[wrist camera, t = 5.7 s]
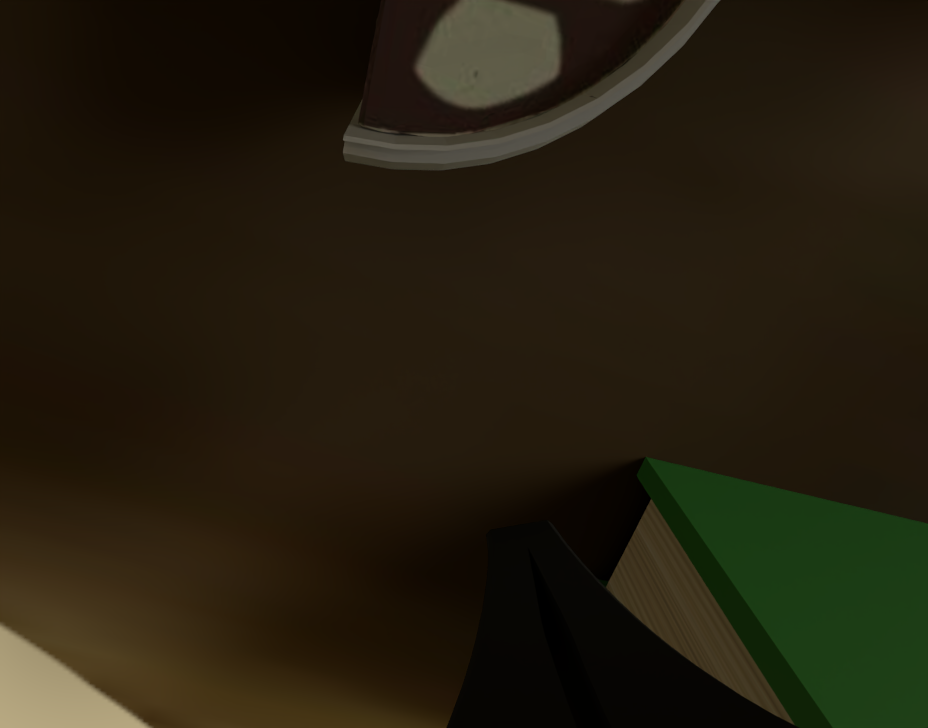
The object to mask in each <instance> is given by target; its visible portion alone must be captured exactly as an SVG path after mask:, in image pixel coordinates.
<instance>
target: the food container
mask: <svg viewBox="0 0 928 728" xmlns="http://www.w3.org/2000/svg"><path fill="white" fill-rule="evenodd" d="M719 1H720V0H381V3H380V8H379V13H378V17H377V19H376V28H375V33H374V38H373V43H372V48H371V54H370V59H369V65H368V70H367V76H366V81H365V87H364V92H363V98H362V101H361V103H360V105H359V107H358V108H357V110H356V112H355V114H354V116H353V118H352V120H351V122H350V124H349V126H348V128H347V130H346V132H345V134H344V138H343V141H345V144H344V149H343V155H344V159H345V161H349V162H354V163H360V164H366V165H371V166H377V167H383V168H388V169H405V170H448V169H455V168H462V167H470V166H477V165H484V164H491V163H494V162H497V161H500V160H503V159H507V158H510V157H513V156H516V155H520V154H523V153H526V152H529V151H532V150H536V149H538V148H540V147H542V146H544V145H546V144H548V143H550V142H552V141H554V140H556V139H558V138H560V137H562V136H564V135H566V134H568V133H570V132H572V131H574V130H576V129H578V128H580V127H582V126H584V125H585V124H587V123H588V122H589V121H591V120H592V119H594V118H595V117H597V116H598V115H599V114H601V113H602V112H604V111H605V110H607V109H608V108H609V107H611V106H612V105H614V104H615V103H617V102H618V101H619V100H621V99H622V98H624V97H625V96H627V95H628V94H629V93H631V92H632V91H634V90H635V89H637V88H638V87H639V86H641V85H642V84H643V83H644V82H645V81H646V80H647V79H648V78H649V77H650V76H651V75H652V74H653V73H655V72H656V71H657V70H658V69H659V68H660V67H661V66H662V65H663V64H664V63H665V62H666V61H667V60H668V59H669V58H671V57H672V56H673V55H674V54H675V53H676V52H677V51H678V50H679V49H680V48H681V47H682V46H683V45H684V44H685V43H686V41H687V40H688V39H689V38H690V37H691V35H692V34H693V33H694V32H695V30H696V29H697V28H698V27H699V25H700V24H701V23H702V22H703V20H704V19H705V18H706V17H707V15H708V14H709V13H710V12H711V11H712V9H713V8H714V7H715V6H716V4H717V3H718V2H719Z"/></svg>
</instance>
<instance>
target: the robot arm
mask: <svg viewBox="0 0 928 728" xmlns="http://www.w3.org/2000/svg"><path fill="white" fill-rule="evenodd" d="M486 537H487V545H488V572H487V582H486V589H485V596H484V603H483V609H482V614H481V619H480V623H479V628H478V632H477V637H476V641H475V645H474V649H473V652H472V656H471V660H470V663H469V666H468V670H467V673H466V676H465V679H464V682H463V685H462V688H461V691H460V694H459V696H458V699H457V702H456V705H455V707H454V710H453V713H452V715H451V718H450V720H449V723H448V725H447V728H799V727H797V726H795V725H793V724H791V723H789V722H788V721H786V720H784V719H782V718H780V717H778V716H776V715H774V714H772V713H770V712H769V711H767V710H765V709H763V708H762V707H760V706H758V705H757V704H755V703H753V702H752V701H750V700H748V699H746V698H745V697H743V696H741V695H740V694H738V693H737V692H735V691H734V690H732V689H731V688H729V687H728V686H726V685H725V684H723V683H722V682H720V681H719V680H717V679H716V678H714V677H713V676H711V675H710V674H708V673H707V672H705V671H704V670H702V669H701V668H699V667H698V666H696V665H695V664H694V663H692V662H691V661H690V660H688V659H687V658H686V657H684V656H683V655H682V654H680V653H679V652H678V651H676V650H675V649H674V648H672V647H671V646H670V645H669V644H668V643H666V642H665V641H664V640H663V639H661V638H660V637H659V636H658V635H656V634H655V633H654V632H653V631H652V630H650V629H649V628H648V627H647V626H646V625H645V624H644V623H642V622H641V621H640V620H639V619H638V618H637V617H636V616H635V615H634V614H632V613H631V612H630V611H629V610H628V609H627V608H626V607H625V606H624V605H623V604H622V603H621V602H620V601H619V600H618V599H617V598H616V597H615V596H614V595H613V594H612V593H611V592H610V591H609V590H608V589H607V588H606V587H605V586H604V585H603V584H602V583H601V582H600V581H599V580H598V579H597V578H596V577H595V576H594V574H593V573H592V572H591V571H590V570H589V569H588V568H587V567H586V566H585V565H584V563H583V562H582V561H581V560H580V559H579V558H578V556H577V555H576V554H575V553H574V552H573V550H572V549H571V548H570V547H569V545H568V544H567V543H566V542H565V540H564V539H563V538H562V537H561V535H560V534H559V532H558V531H557V530H556V528H555V527H554V525H553V524H552V523H551V522H549V521H548V520H545V521H539V522H533V523H527V524H521V525H515V526H510V527H504V528H498V529H492V530H490V531H489V532H488V533H487V535H486Z"/></svg>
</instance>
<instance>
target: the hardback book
mask: <svg viewBox="0 0 928 728" xmlns="http://www.w3.org/2000/svg"><path fill="white" fill-rule="evenodd" d="M636 476H637V477H638V479H639V480H640V482H641V483H642V485H643V487H644V488H645V490H646V491H647V493H648V494H649V496H650V498H651V500H650V502H649V504H648V506H647V508H646V510H645V512H644V514H643V516H642V518H641V520H640V522H639V524H638V526H637V528H636V530H635V531H634V533H633V535H632V537H631V539H630V541H629V543H628V545H627V547H626V549H625V551H624V553H623V555H622V557H621V559H620V561H619V563H618V565H617V566H616V568H615V570H614V572H613V574H612V576H611V578H610V580H609V581H604V580H599V579H598V580H599V581H600V582H601V583H602V584H603V585H604V586H605V587H606V588H607V589H608V590H609V591H610V592H611V593H612V594H613V595H614V596H615V597H616V598H617V599H618V600H619V601H620V602H621V603H622V604H623V605H624V606H625V607H626V608H627V609H628V610H629V611H630V612H631V613H632V614H634V615H635V616H636V617H637V618H638V619H639V620H640V621H641V622H642V623H644V624H645V625H646V626H647V627H648V628H649V629H650V630H652V631H653V632H654V633H655V634H656V635H658V636H659V637H660V638H661V639H663V640H664V641H665V642H666V643H668V644H669V645H670V646H671V647H672V648H674V649H675V650H676V651H678V652H679V653H680V654H682V655H683V656H684V657H686V658H687V659H688V660H690V661H691V662H692V663H694V664H695V665H696V666H698V667H699V668H701V669H702V670H704V671H705V672H707V673H708V674H710V675H711V676H713V677H714V678H716V679H717V680H719V681H720V682H722V683H723V684H725V685H726V686H728V687H729V688H731V689H732V690H734V691H735V692H737V693H738V694H740V695H741V696H743V697H745V698H746V699H748V700H750V701H752V702H753V703H755V704H757V705H758V706H760V707H762V708H763V709H765V710H767V711H769V712H770V713H772V714H774V715H776V716H778V717H780V718H782V719H784V720H786V721H788V722H789V723H791V724H793V725H795V726H797V727H799V728H928V524H927V523H923V522H918V521H914V520H910V519H906V518H901V517H897V516H893V515H889V514H884V513H880V512H876V511H872V510H868V509H863V508H859V507H855V506H851V505H846V504H842V503H838V502H834V501H829V500H825V499H821V498H817V497H813V496H808V495H804V494H800V493H796V492H791V491H787V490H783V489H779V488H774V487H770V486H766V485H762V484H758V483H753V482H749V481H745V480H741V479H736V478H732V477H728V476H724V475H720V474H715V473H711V472H707V471H703V470H698V469H694V468H690V467H686V466H681V465H677V464H673V463H669V462H665V461H660V460H656V459H652V458H648V457H645V459H644V461H643V463H642V465H641V467H640V469H639V471H638V473H637V475H636Z"/></svg>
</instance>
